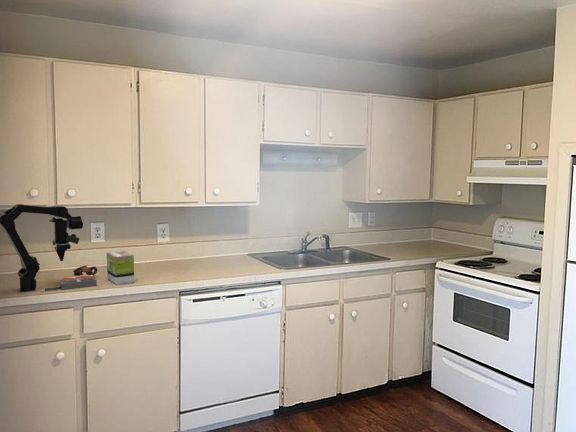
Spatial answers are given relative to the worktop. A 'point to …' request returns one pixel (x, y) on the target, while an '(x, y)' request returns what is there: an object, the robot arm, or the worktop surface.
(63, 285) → the power strip
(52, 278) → the worktop surface
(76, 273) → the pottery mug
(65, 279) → the rocker left
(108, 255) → the tea box
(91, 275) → the rocker right
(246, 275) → the worktop surface
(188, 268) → the worktop surface
